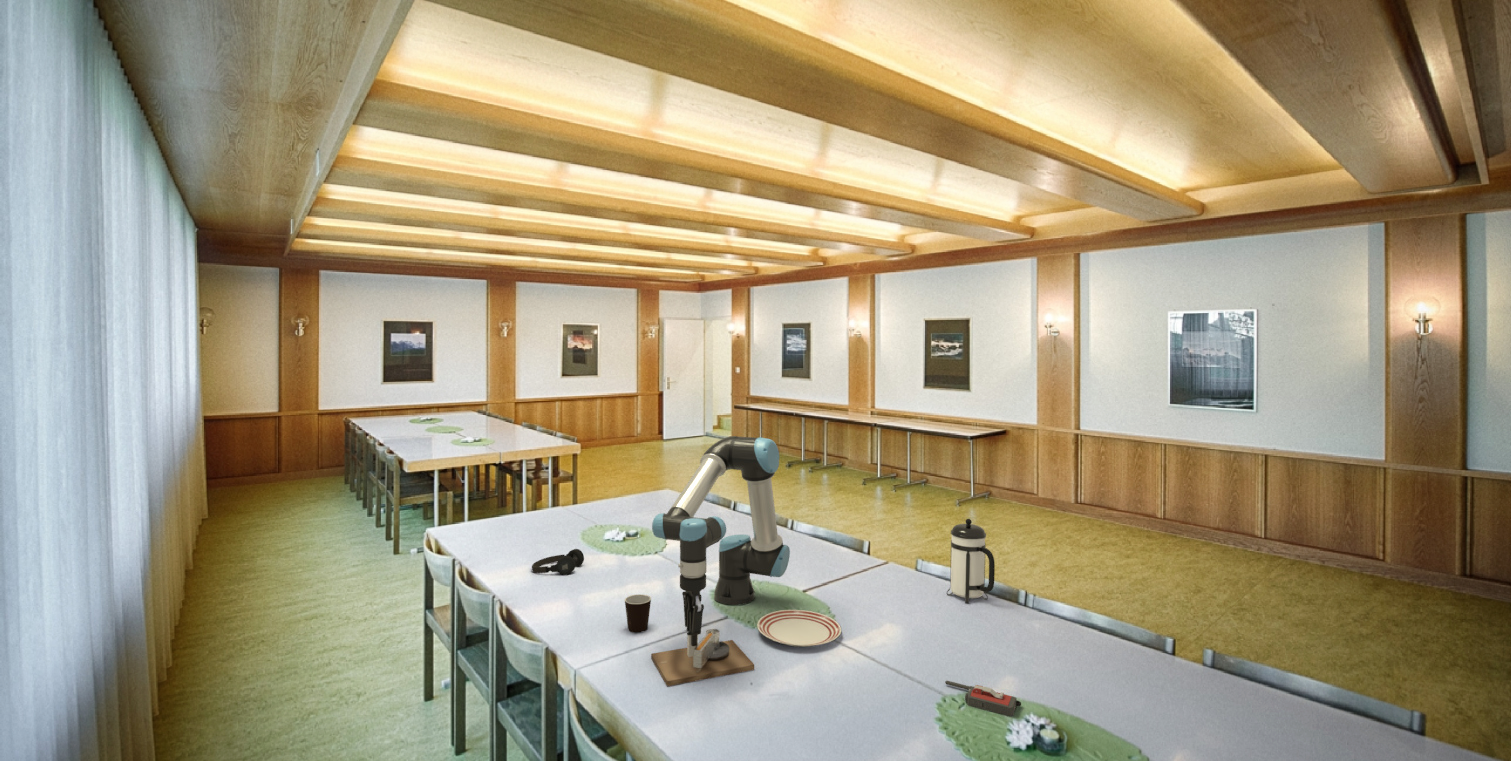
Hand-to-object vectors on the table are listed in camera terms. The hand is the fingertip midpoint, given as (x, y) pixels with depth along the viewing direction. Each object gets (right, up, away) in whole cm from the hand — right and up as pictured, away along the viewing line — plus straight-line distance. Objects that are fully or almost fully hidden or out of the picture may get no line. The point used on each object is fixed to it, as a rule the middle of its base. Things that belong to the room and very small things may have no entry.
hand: (692, 654), depth 190 cm
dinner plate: (+32, -5, +26) cm, 42 cm away
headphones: (-66, -1, +90) cm, 112 cm away
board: (+2, -5, +5) cm, 7 cm away
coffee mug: (-21, -4, +31) cm, 38 cm away
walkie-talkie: (+78, -7, -14) cm, 79 cm away
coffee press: (+99, -4, +60) cm, 116 cm away
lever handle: (+4, -3, +4) cm, 7 cm away
